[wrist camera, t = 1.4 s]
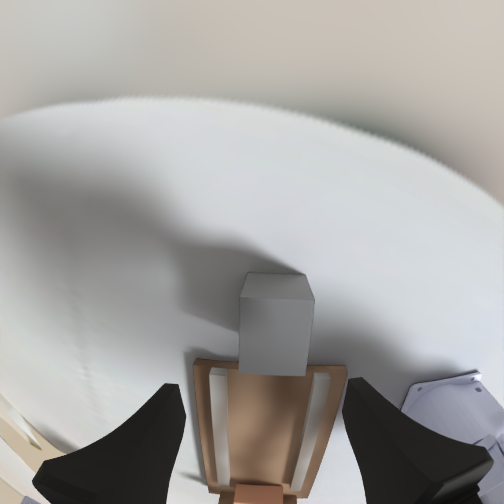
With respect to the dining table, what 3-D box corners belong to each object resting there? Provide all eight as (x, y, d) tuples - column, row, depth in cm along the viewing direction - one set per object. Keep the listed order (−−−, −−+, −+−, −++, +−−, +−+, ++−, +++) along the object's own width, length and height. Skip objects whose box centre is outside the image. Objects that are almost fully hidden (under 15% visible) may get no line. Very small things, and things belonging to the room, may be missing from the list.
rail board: (344, 365, 21) (357, 400, 17) (307, 492, 25) (308, 520, 21) (196, 358, 22) (180, 392, 17) (210, 487, 26) (203, 514, 22)
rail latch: (283, 486, 24) (283, 504, 21) (281, 492, 24) (281, 510, 21) (236, 483, 24) (233, 502, 21) (236, 489, 24) (233, 507, 21)
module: (305, 274, 20) (314, 300, 15) (299, 337, 21) (305, 376, 16) (248, 272, 20) (239, 296, 15) (246, 335, 21) (238, 373, 16)
